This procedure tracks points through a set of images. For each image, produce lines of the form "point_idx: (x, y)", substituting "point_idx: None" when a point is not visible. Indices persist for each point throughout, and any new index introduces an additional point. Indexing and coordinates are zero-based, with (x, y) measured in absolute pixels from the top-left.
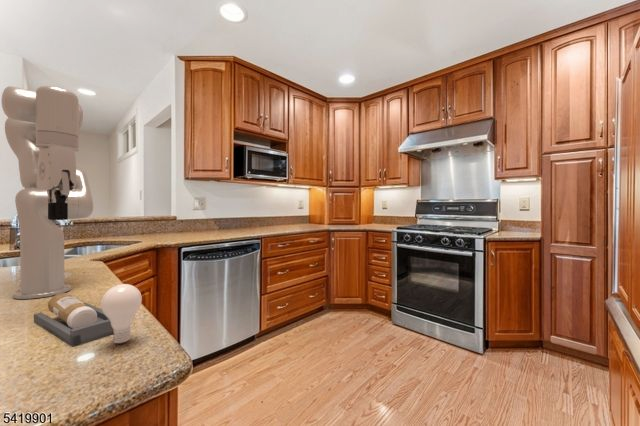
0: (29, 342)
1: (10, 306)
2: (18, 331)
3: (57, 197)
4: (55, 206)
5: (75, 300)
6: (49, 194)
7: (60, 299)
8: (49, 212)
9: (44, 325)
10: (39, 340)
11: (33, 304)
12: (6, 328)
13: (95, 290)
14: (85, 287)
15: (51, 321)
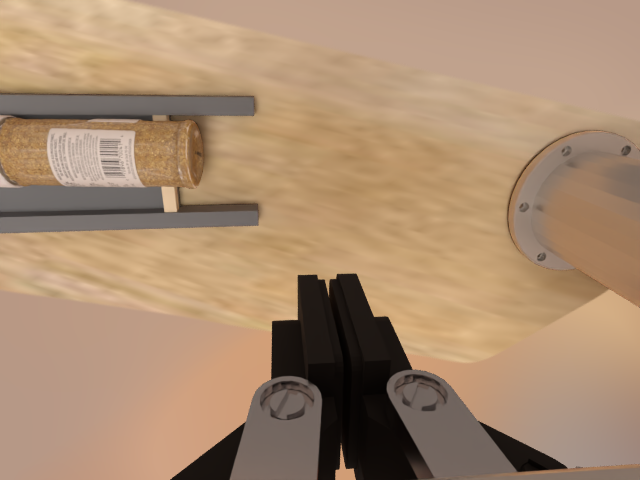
0: (53, 35)
1: (501, 101)
2: (191, 45)
3: (208, 467)
4: (283, 373)
5: (83, 170)
6: (422, 460)
7: (130, 143)
8: (346, 306)
9: (151, 95)
10: (50, 56)
11: (461, 148)
12: (253, 32)
13: (459, 301)
14: (526, 296)
15: (115, 104)
